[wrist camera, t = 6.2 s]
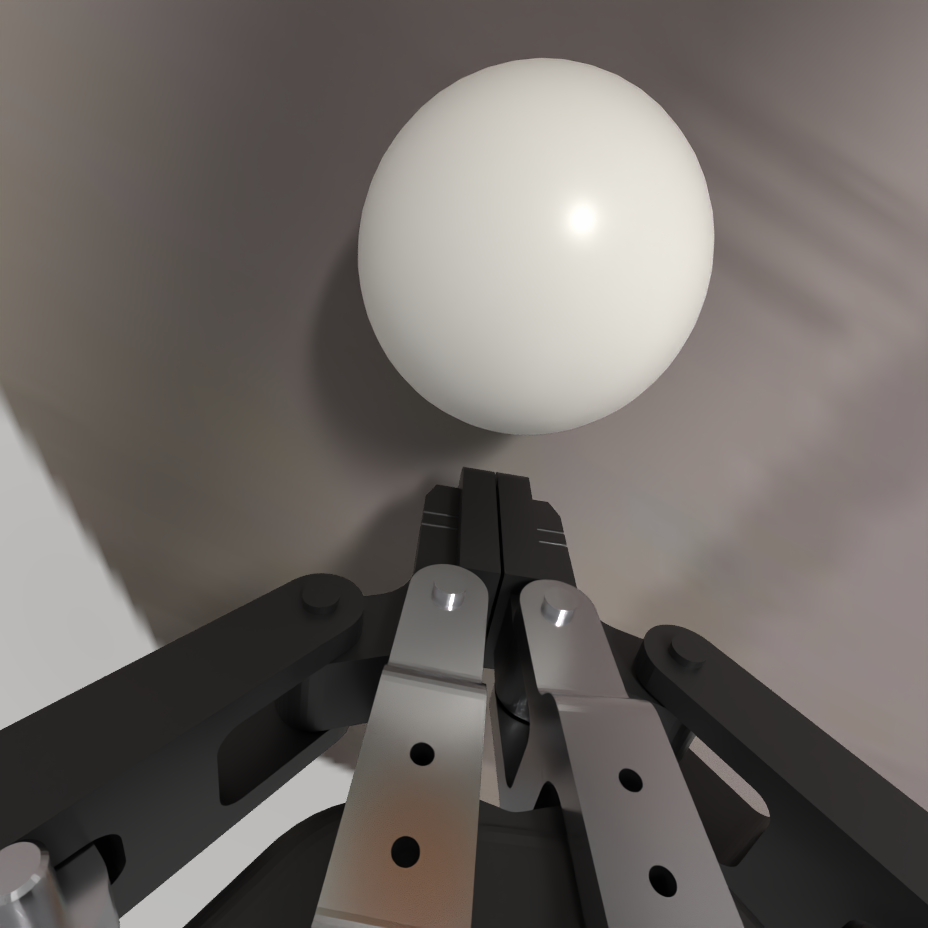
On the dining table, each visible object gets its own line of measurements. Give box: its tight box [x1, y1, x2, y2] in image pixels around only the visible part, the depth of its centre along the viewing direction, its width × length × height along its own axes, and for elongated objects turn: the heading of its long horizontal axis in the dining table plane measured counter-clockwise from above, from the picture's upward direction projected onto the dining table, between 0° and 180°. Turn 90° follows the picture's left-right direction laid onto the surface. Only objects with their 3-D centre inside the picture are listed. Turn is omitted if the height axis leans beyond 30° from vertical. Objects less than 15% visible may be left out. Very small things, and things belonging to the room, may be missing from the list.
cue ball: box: [358, 58, 714, 435], centre depth 9 cm, size 6×6×6 cm
